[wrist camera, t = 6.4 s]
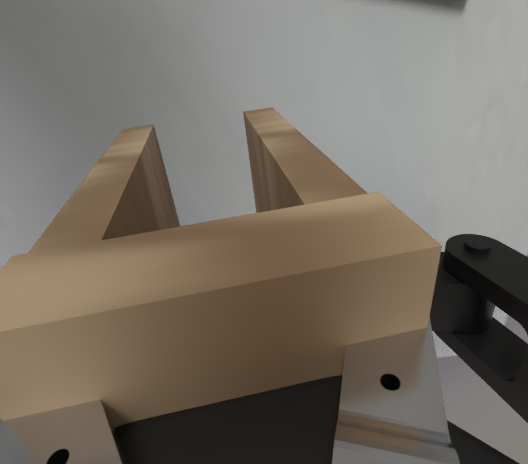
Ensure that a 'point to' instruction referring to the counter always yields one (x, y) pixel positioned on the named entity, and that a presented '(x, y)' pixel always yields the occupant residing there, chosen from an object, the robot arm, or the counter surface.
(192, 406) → the tan notched block
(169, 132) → the counter surface
